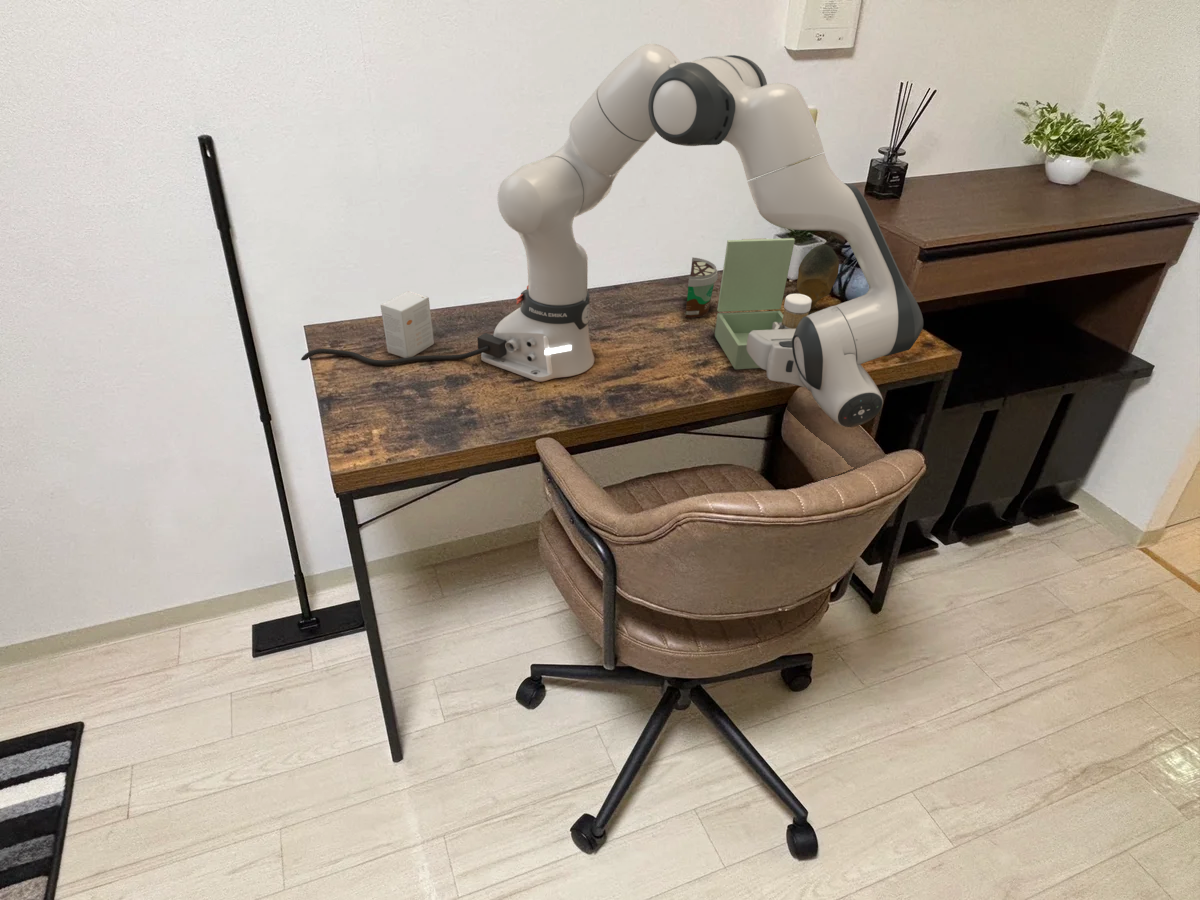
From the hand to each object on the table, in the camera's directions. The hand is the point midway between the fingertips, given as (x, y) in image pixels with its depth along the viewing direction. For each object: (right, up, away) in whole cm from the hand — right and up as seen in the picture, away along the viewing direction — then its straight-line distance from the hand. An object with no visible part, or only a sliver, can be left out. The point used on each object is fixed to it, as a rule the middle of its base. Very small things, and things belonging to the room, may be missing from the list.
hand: (791, 324), depth 139 cm
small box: (-73, -2, +17) cm, 75 cm away
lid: (-3, +12, +17) cm, 21 cm away
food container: (-12, +9, +35) cm, 38 cm away
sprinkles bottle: (0, -7, +4) cm, 8 cm away
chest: (-2, -2, +20) cm, 20 cm away
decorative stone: (+14, +10, +37) cm, 41 cm away
